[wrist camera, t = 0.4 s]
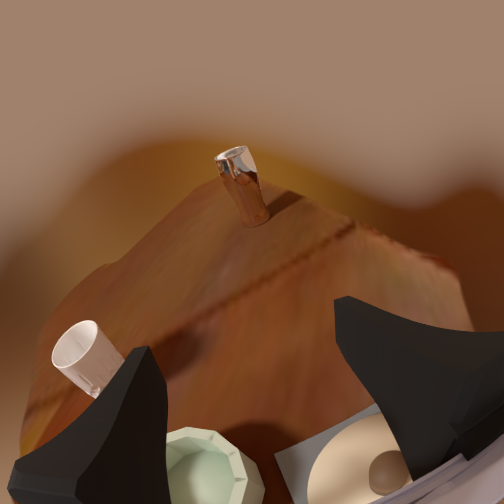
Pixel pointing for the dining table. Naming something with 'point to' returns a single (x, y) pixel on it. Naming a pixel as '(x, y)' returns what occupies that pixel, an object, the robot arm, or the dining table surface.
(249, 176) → the beer glass
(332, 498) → the lid
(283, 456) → the mat
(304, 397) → the dining table surface
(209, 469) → the bowl
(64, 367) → the white cup
